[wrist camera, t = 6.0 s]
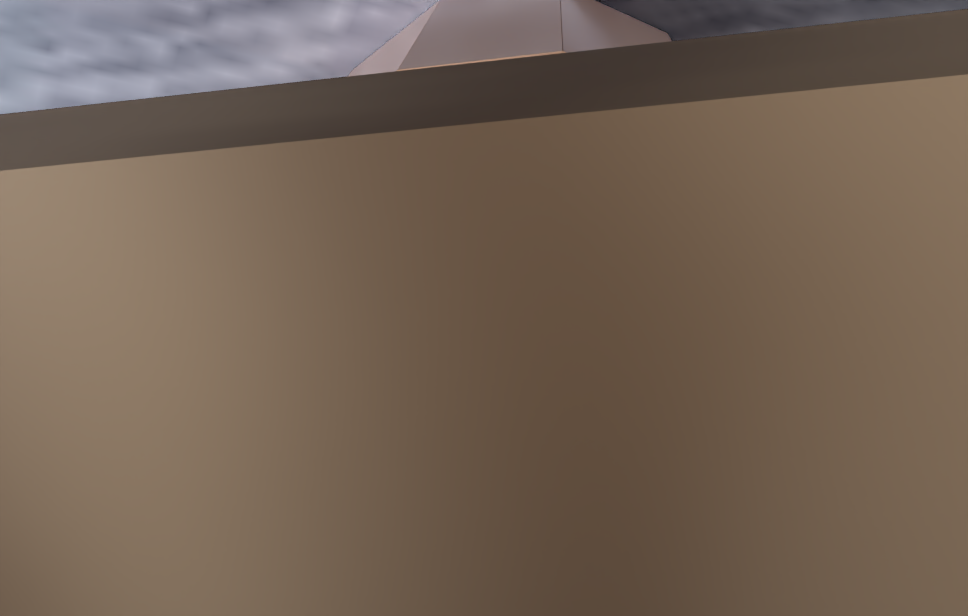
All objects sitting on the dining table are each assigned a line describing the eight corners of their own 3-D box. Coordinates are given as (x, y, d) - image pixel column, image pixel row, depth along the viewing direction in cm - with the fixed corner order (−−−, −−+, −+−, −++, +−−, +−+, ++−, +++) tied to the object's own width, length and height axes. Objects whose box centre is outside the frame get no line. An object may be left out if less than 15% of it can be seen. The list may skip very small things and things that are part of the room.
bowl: (365, 383, 23) (311, 549, 18) (284, 18, 19) (183, 94, 14) (729, 356, 22) (785, 524, 17) (727, -37, 18) (800, 23, 13)
